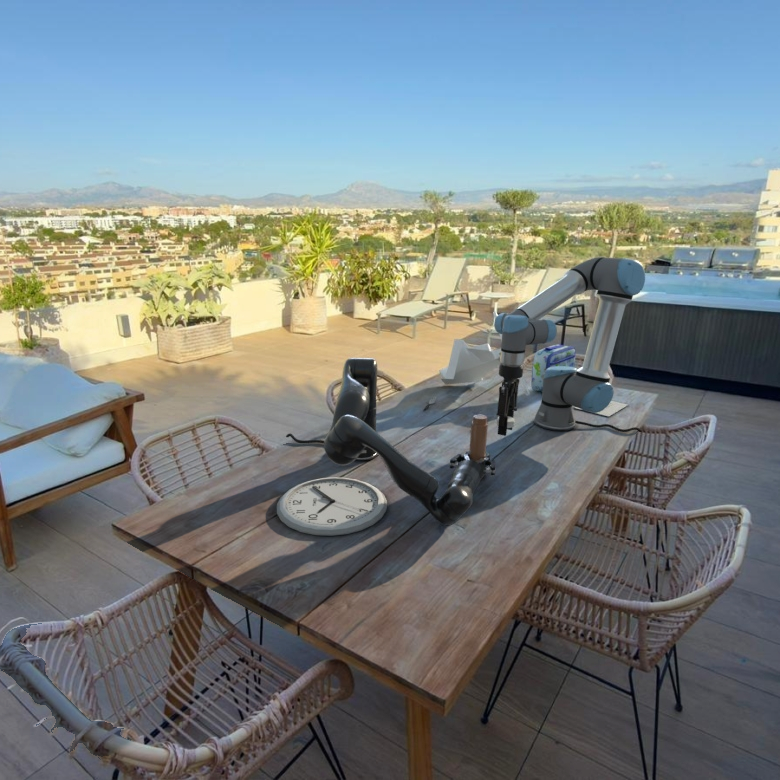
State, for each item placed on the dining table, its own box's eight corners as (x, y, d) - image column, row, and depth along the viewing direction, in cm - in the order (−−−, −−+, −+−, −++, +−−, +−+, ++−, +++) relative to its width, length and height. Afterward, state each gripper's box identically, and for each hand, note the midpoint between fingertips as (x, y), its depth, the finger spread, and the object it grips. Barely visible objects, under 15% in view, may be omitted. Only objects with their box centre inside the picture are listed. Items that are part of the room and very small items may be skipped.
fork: (420, 411, 216) (420, 406, 216) (430, 400, 230) (431, 395, 230) (426, 412, 215) (426, 407, 215) (436, 401, 230) (436, 396, 229)
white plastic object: (461, 429, 252) (437, 405, 227) (444, 352, 274) (420, 323, 250) (535, 404, 240) (518, 377, 215) (510, 326, 262) (492, 293, 237)
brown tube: (486, 478, 160) (491, 418, 154) (471, 480, 159) (475, 420, 153) (479, 471, 164) (484, 413, 158) (465, 473, 163) (469, 414, 157)
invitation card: (608, 416, 214) (573, 407, 224) (608, 416, 214) (573, 408, 224) (628, 404, 229) (594, 396, 238) (628, 405, 229) (594, 397, 238)
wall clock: (392, 527, 129) (268, 531, 127) (391, 533, 130) (269, 537, 127) (383, 473, 158) (282, 475, 155) (383, 478, 158) (282, 480, 156)
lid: (498, 421, 177) (498, 414, 176) (515, 423, 175) (516, 417, 174) (495, 426, 172) (496, 420, 171) (513, 429, 170) (513, 422, 169)
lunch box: (547, 397, 237) (552, 352, 231) (526, 391, 245) (531, 348, 238) (574, 386, 255) (580, 344, 249) (554, 381, 262) (559, 340, 256)
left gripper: (441, 485, 150) (455, 461, 166) (491, 494, 145) (501, 469, 161) (442, 461, 148) (457, 439, 163) (493, 470, 143) (503, 447, 158)
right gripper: (509, 357, 177) (503, 421, 183) (490, 368, 161) (484, 438, 168) (531, 360, 173) (524, 425, 180) (514, 372, 158) (506, 443, 164)
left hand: (478, 454), depth 162 cm, fingers closed on brown tube, 5 cm apart
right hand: (504, 431), depth 174 cm, fingers closed on lid, 5 cm apart
